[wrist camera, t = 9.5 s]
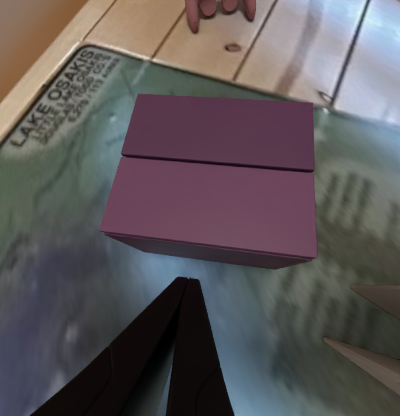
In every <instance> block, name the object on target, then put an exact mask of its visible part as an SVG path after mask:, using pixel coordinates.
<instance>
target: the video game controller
mask: <svg viewBox="0 0 400 416" xmlns="http://www.w3.org/2000/svg"><path fill="white" fill-rule="evenodd" d="M237 2H238V0H221V3H222V7H223V9H224V10H225V11H228V12H230V11H233V10H234V9H235V7H236V5H237ZM243 2H244V6H245V10H246V13H247V16H248V18H249V19H250V20H252V19H253V18H254V16H255V12H256V0H243ZM185 6H186V10H187V15H188V19H189V23H190V26H191V28H192V30H193V31H194V32H196V31H197V29H198V22H199V16H198V7H199V8H200V9H201V11H202V13H203V14H204V15H206V16H210V15H212V14H213V13H214V12H215V10H216V0H185Z"/></svg>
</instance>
